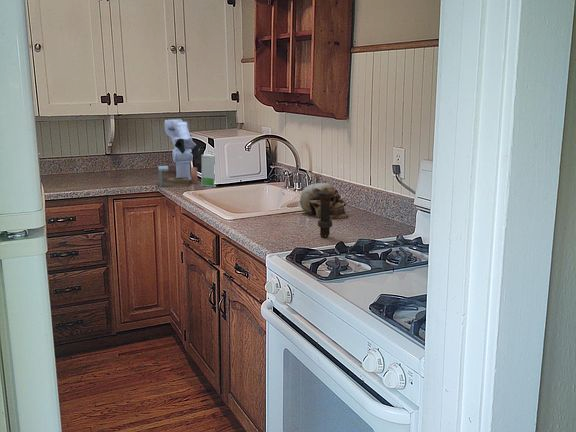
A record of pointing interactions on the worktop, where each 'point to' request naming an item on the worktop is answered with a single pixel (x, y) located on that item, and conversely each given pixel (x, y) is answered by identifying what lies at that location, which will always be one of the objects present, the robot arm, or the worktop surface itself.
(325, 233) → the bolt
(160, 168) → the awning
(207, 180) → the skincare box
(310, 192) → the grey skull
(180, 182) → the socket block
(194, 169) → the peg
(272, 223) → the worktop surface
